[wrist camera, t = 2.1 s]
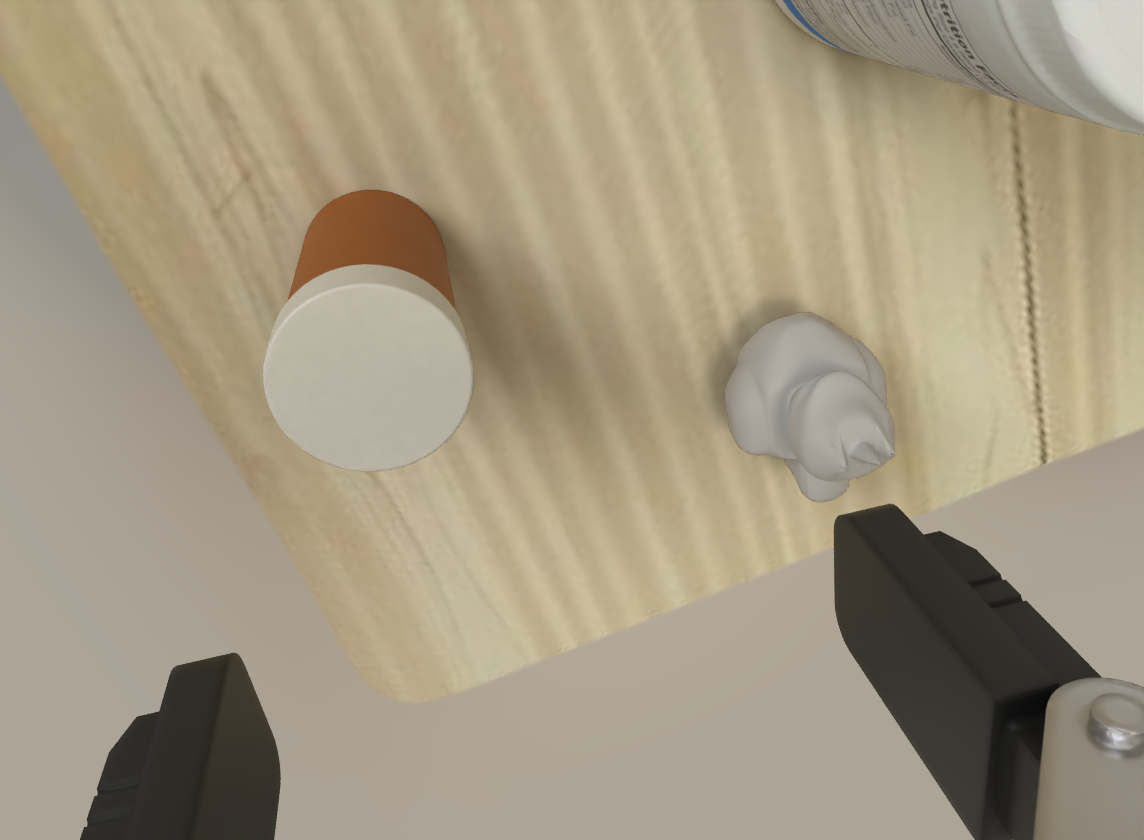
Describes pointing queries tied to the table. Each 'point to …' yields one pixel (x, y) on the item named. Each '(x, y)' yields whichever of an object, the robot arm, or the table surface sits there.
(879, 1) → the supplement tub
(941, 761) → the robot arm
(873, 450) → the grey figurine
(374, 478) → the table surface
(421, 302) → the pill bottle
